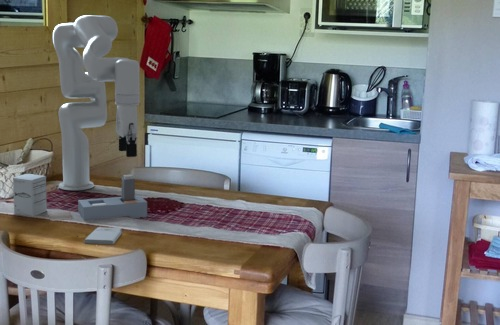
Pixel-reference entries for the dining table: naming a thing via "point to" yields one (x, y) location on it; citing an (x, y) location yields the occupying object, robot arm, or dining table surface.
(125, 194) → the plug
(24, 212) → the supplement box
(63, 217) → the grey flat plate
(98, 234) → the external hard drive
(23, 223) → the dining table surface
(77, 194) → the dining table surface
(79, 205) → the socket block
